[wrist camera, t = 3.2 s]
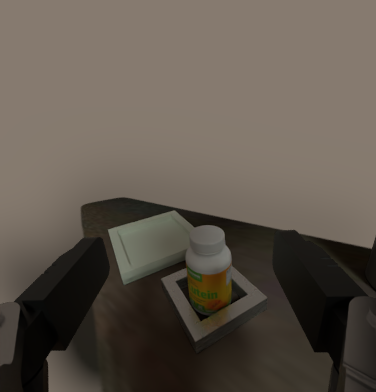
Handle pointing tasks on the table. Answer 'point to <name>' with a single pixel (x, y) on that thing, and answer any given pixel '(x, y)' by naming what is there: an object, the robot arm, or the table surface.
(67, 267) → the robot arm
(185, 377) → the table surface
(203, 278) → the supplement bottle
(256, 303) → the gray square frame
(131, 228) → the sage tray
